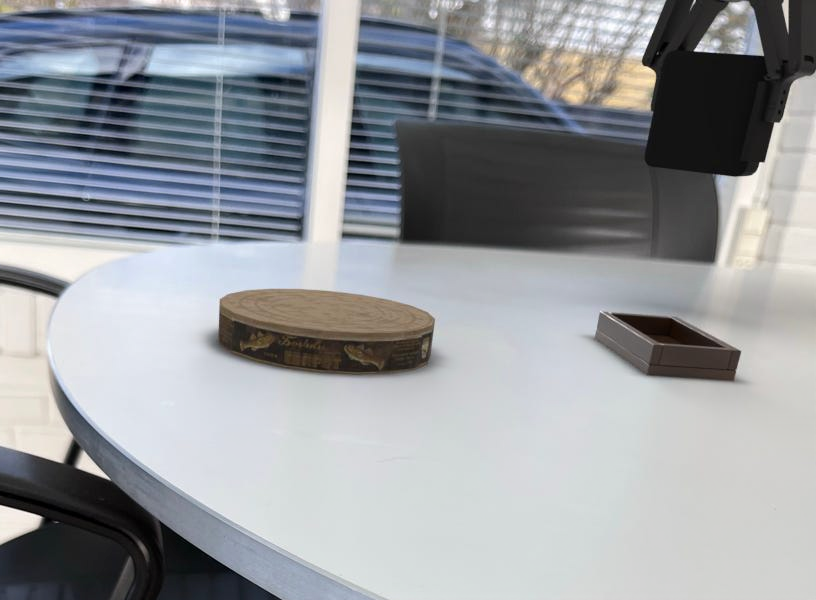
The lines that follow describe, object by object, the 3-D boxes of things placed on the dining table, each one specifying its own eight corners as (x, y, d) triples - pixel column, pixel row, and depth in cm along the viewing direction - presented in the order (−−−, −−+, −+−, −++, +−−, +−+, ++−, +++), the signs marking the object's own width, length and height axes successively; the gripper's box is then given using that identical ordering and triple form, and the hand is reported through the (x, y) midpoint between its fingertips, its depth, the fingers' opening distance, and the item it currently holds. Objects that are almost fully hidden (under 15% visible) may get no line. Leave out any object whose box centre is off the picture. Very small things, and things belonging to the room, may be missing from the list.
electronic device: (656, 165, 107) (679, 52, 102) (756, 177, 102) (785, 59, 97) (642, 165, 104) (665, 49, 99) (744, 177, 99) (773, 56, 94)
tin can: (180, 353, 74) (181, 309, 73) (265, 318, 88) (267, 280, 87) (397, 389, 70) (402, 344, 69) (451, 347, 84) (456, 308, 83)
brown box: (670, 346, 93) (677, 316, 92) (733, 383, 81) (742, 350, 80) (593, 340, 92) (599, 311, 91) (646, 377, 80) (653, 344, 79)
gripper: (635, -120, 98) (589, 143, 108) (863, -145, 82) (783, 166, 92) (687, -106, 102) (638, 146, 112) (914, -127, 86) (832, 170, 96)
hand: (703, 155), depth 102 cm, fingers closed on electronic device, 10 cm apart
